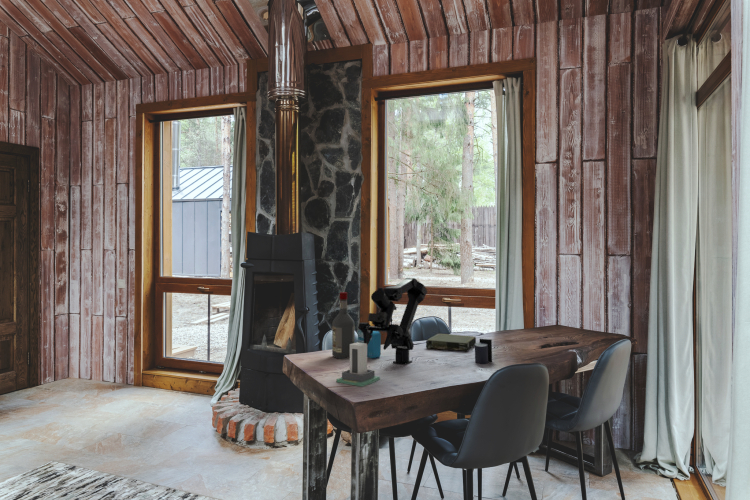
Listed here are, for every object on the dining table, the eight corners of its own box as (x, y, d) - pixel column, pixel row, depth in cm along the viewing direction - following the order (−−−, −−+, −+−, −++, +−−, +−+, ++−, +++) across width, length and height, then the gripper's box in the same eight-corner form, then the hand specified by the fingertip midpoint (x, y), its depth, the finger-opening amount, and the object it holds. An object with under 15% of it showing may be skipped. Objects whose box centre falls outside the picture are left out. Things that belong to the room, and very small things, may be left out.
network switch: (424, 350, 245) (424, 340, 245) (433, 342, 268) (433, 332, 268) (471, 353, 238) (471, 343, 238) (476, 344, 261) (476, 335, 261)
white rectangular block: (356, 375, 191) (356, 342, 191) (367, 377, 188) (367, 343, 188) (349, 378, 187) (349, 344, 187) (360, 380, 184) (360, 345, 184)
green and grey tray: (354, 375, 196) (354, 366, 196) (379, 379, 189) (379, 370, 189) (336, 382, 186) (336, 372, 186) (362, 386, 179) (362, 377, 179)
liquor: (348, 353, 235) (348, 291, 235) (356, 357, 227) (356, 293, 227) (330, 355, 232) (330, 292, 232) (337, 359, 223) (337, 293, 223)
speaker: (481, 359, 223) (481, 337, 222) (492, 361, 219) (492, 339, 218) (472, 363, 217) (471, 340, 216) (483, 366, 214) (483, 343, 212)
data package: (357, 354, 234) (357, 329, 234) (364, 353, 237) (364, 328, 237) (373, 359, 225) (373, 332, 225) (380, 357, 227) (380, 331, 227)
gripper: (357, 303, 203) (345, 337, 195) (396, 304, 193) (385, 340, 185) (370, 316, 211) (358, 350, 203) (408, 318, 201) (397, 353, 193)
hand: (374, 348), depth 196 cm, fingers open, 9 cm apart
